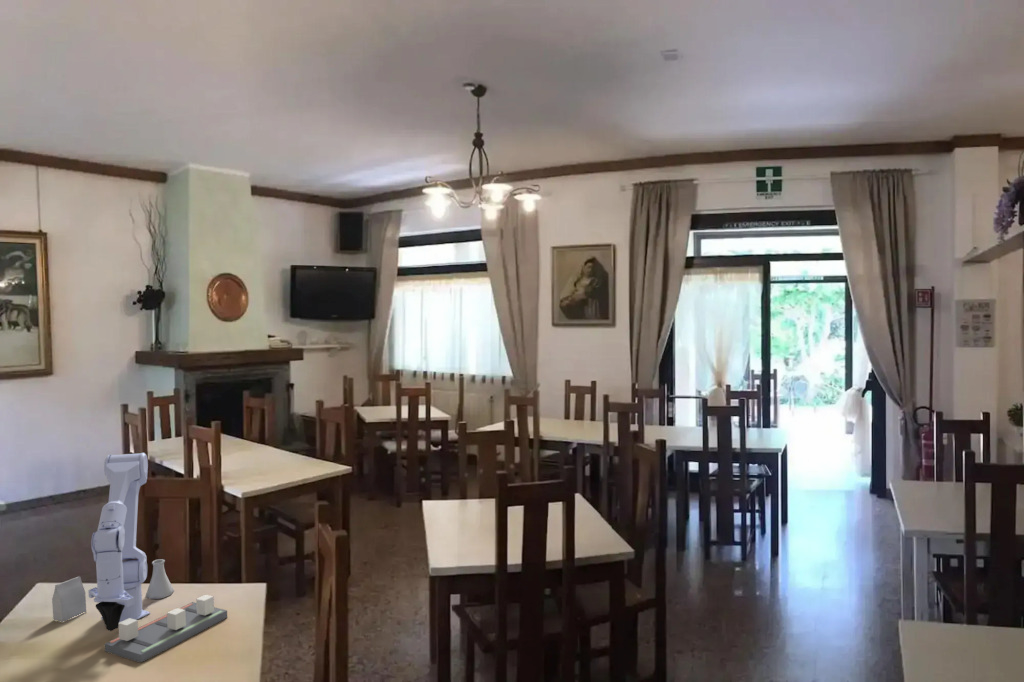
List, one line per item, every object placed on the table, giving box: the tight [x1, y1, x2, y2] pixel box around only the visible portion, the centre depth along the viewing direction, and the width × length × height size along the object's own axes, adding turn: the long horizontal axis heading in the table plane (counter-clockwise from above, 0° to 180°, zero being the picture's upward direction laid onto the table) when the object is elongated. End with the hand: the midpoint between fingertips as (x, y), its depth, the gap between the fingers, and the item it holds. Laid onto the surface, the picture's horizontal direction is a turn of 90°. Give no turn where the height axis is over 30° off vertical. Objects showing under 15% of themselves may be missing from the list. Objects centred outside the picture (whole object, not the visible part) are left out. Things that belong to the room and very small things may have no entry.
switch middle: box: [166, 607, 186, 630], centre depth 184 cm, size 3×3×4 cm
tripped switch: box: [118, 618, 139, 641], centre depth 178 cm, size 3×3×4 cm
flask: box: [145, 558, 175, 600], centre depth 209 cm, size 7×7×10 cm
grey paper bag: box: [51, 575, 87, 622], centre depth 195 cm, size 4×7×10 cm, turn 156°
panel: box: [104, 601, 228, 663], centre depth 185 cm, size 13×26×2 cm, turn 155°
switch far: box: [195, 594, 215, 615], centre depth 192 cm, size 3×3×4 cm
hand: (112, 629), depth 181 cm, fingers closed
